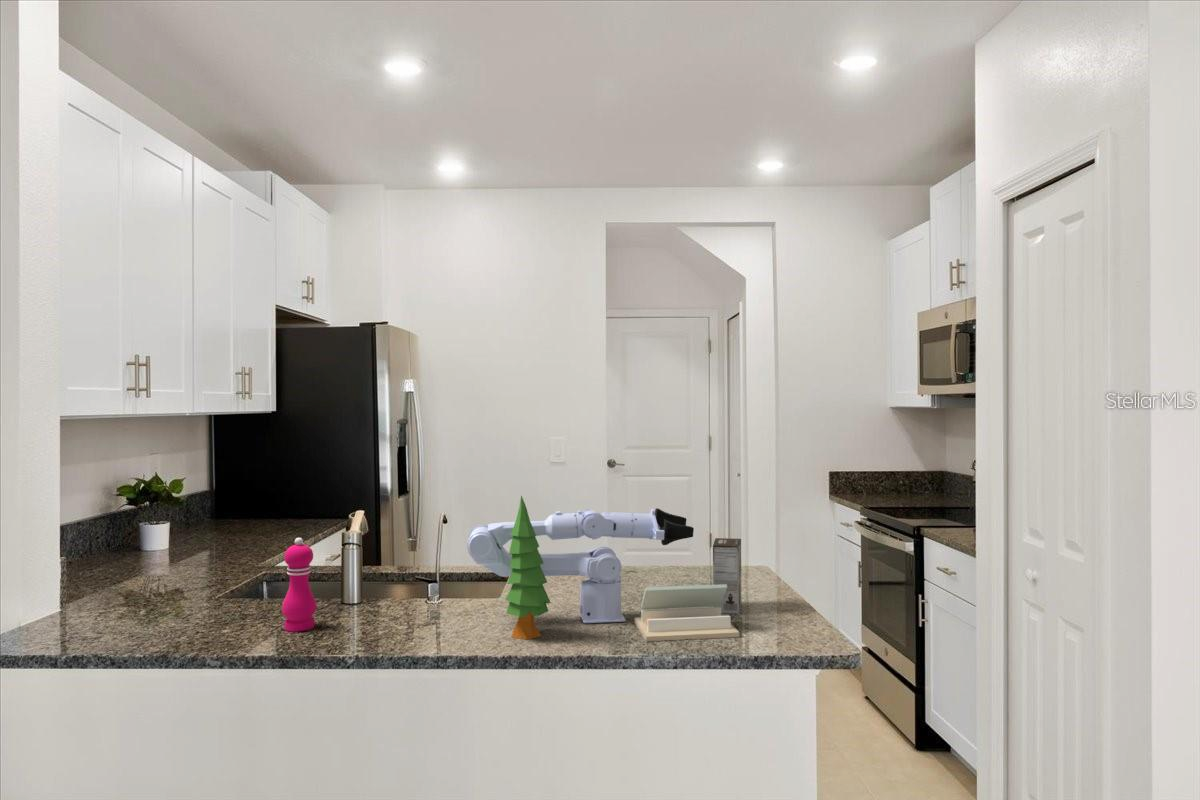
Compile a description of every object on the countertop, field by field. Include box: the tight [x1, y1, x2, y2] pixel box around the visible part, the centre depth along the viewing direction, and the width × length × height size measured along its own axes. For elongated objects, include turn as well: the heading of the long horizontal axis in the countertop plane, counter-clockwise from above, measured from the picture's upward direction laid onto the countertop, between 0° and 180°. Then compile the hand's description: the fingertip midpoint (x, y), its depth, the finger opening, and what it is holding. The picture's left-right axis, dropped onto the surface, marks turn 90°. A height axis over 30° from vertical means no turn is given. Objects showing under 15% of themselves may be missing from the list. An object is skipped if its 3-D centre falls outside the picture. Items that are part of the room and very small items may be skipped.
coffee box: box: [712, 537, 742, 615], centre depth 194 cm, size 9×6×16 cm
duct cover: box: [640, 584, 727, 611], centre depth 178 cm, size 18×8×1 cm
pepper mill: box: [281, 537, 318, 633], centre depth 179 cm, size 7×7×20 cm
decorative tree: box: [505, 495, 551, 640], centre depth 173 cm, size 10×9×30 cm
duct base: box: [633, 607, 740, 642], centre depth 177 cm, size 20×14×4 cm
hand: (689, 527), depth 188 cm, fingers open, 7 cm apart
